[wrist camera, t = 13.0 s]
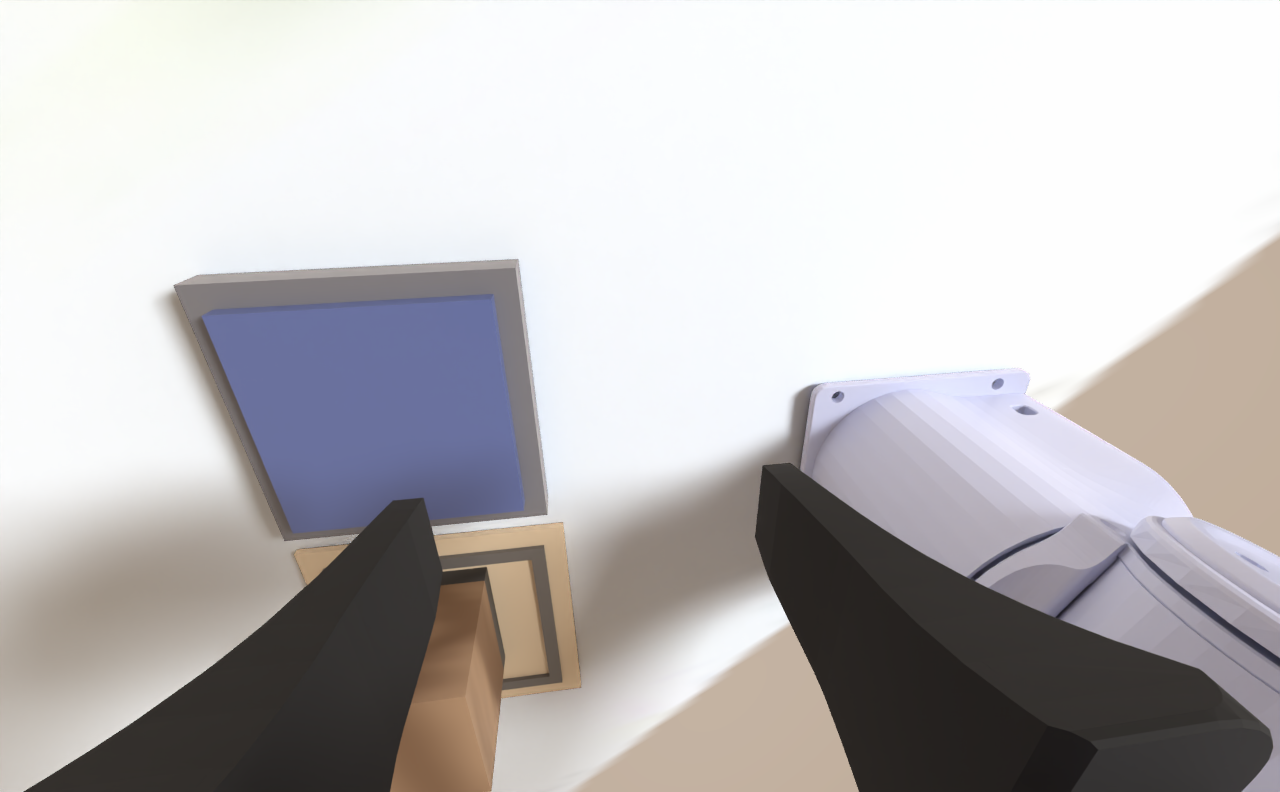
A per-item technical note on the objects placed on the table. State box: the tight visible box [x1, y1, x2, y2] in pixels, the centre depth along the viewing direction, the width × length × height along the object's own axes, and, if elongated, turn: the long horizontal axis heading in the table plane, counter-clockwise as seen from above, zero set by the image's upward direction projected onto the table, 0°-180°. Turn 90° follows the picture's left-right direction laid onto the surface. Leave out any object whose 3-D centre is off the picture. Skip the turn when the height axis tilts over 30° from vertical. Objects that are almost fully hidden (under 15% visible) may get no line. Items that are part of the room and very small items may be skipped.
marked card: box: [294, 522, 581, 698], centre depth 25 cm, size 11×11×1 cm
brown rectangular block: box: [390, 567, 505, 792], centre depth 22 cm, size 4×6×6 cm, turn 2°
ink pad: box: [174, 259, 548, 541], centre depth 19 cm, size 10×10×2 cm
